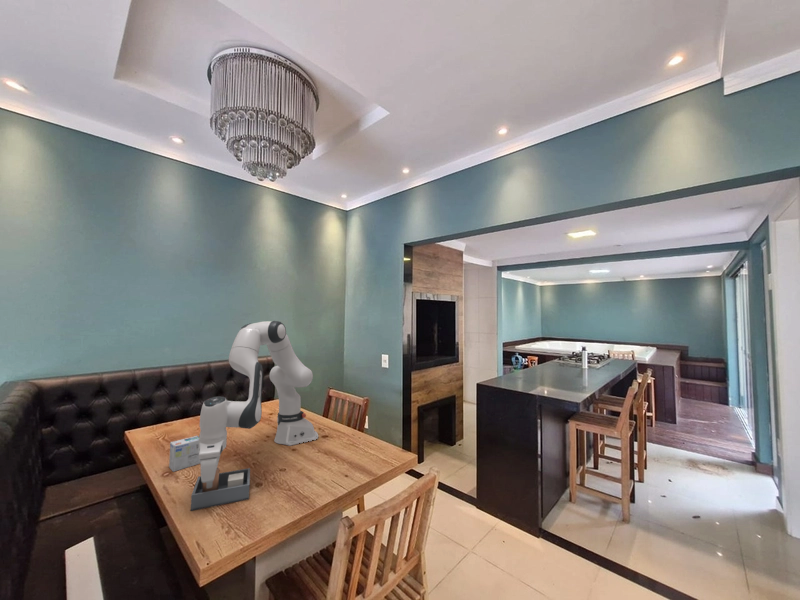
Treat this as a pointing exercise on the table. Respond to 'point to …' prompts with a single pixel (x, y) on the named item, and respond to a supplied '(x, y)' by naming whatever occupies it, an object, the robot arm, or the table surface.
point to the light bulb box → (184, 453)
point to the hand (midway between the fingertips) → (210, 483)
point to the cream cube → (235, 479)
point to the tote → (221, 491)
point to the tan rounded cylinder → (215, 483)
